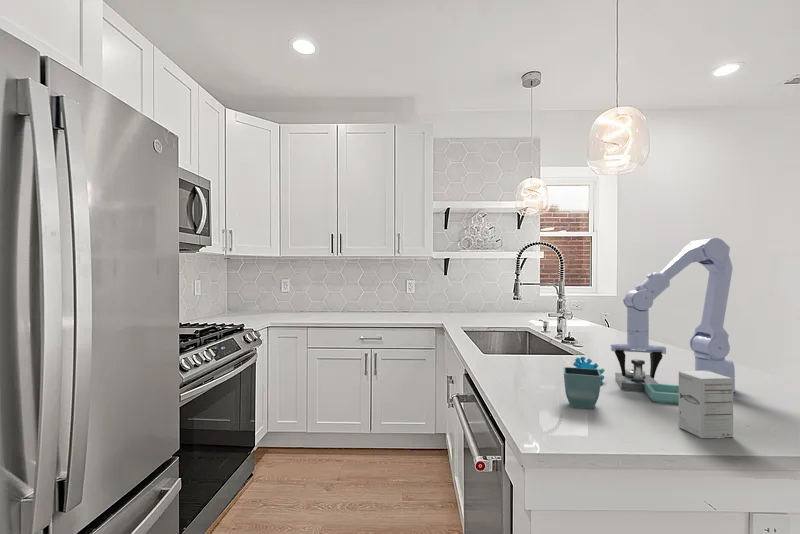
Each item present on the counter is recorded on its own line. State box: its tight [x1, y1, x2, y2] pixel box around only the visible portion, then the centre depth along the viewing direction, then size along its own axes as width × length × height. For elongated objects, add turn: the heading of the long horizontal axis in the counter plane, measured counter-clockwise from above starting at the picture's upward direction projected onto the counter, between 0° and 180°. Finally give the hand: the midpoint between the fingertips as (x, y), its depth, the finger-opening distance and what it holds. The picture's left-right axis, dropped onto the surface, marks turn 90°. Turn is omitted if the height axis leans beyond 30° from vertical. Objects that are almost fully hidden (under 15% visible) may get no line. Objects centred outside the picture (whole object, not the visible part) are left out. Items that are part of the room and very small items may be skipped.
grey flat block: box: [614, 368, 659, 392], centre depth 142 cm, size 10×14×4 cm
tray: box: [644, 383, 679, 405], centre depth 127 cm, size 14×11×2 cm
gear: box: [572, 356, 605, 384], centre depth 146 cm, size 11×6×10 cm
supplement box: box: [678, 370, 734, 439], centre depth 100 cm, size 7×7×13 cm
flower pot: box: [563, 366, 602, 410], centre depth 120 cm, size 9×9×9 cm
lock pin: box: [630, 359, 646, 382], centre depth 139 cm, size 4×4×8 cm
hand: (637, 376), depth 139 cm, fingers open, 7 cm apart
